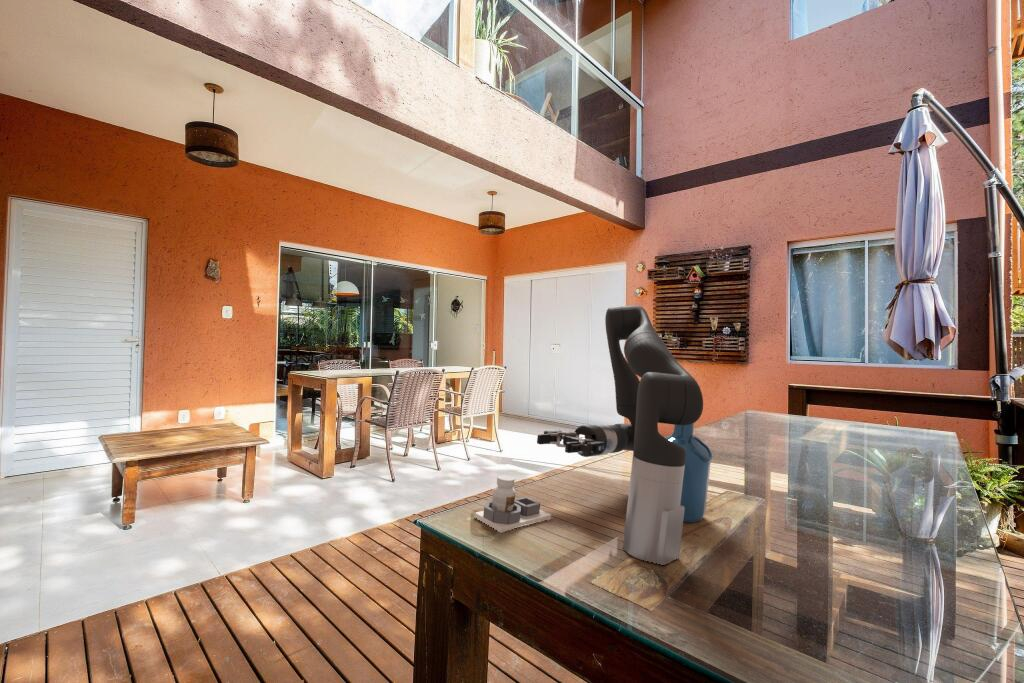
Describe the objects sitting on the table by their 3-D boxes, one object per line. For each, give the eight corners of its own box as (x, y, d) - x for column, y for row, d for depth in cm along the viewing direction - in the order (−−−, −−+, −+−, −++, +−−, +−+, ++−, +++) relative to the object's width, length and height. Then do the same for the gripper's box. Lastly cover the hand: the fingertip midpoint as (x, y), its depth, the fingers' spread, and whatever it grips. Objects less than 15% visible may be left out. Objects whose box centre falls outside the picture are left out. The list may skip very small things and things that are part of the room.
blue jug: (634, 507, 107) (648, 383, 107) (663, 499, 116) (676, 384, 116) (689, 529, 97) (704, 391, 97) (716, 519, 106) (730, 392, 106)
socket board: (550, 519, 94) (552, 505, 94) (500, 532, 84) (502, 516, 84) (523, 506, 99) (525, 493, 99) (474, 517, 90) (476, 502, 90)
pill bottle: (510, 522, 87) (514, 482, 87) (488, 517, 88) (492, 478, 88) (514, 514, 91) (518, 476, 91) (493, 510, 92) (498, 472, 92)
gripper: (574, 419, 117) (531, 421, 106) (621, 430, 106) (578, 433, 95) (571, 448, 116) (527, 452, 105) (618, 462, 106) (575, 468, 95)
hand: (552, 443), depth 100 cm, fingers open, 8 cm apart
